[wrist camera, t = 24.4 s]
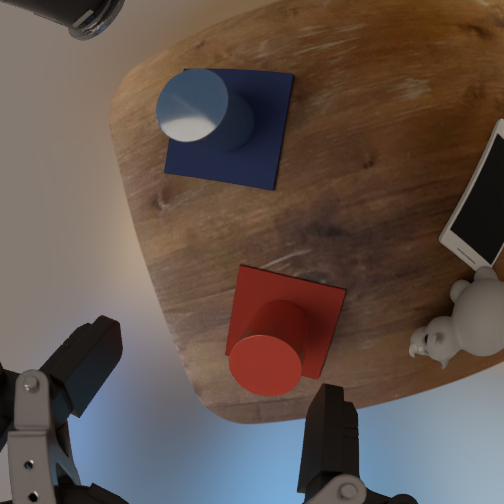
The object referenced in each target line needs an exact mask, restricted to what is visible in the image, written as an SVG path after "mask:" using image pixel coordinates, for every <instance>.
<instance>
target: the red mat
mask: <svg viewBox="0 0 504 504" xmlns="http://www.w3.org/2000/svg"><path fill="white" fill-rule="evenodd" d="M345 292H346V289H341V288H337V287H333V286H328V285H324V284H320V283H316V282H311V281H307V280H303V279H299V278H294V277H290V276H286V275H282V274H278V273H273V272H269V271H265V270H261V269H257V268H253V267H248V266H244V265H240V266H239V272H238V278H237V284H236V290H235V296H234V302H233V308H232V314H231V321H230V327H229V333H228V339H227V345H226V352H225V355H227V356H230V352H231V350H232V348H233V347H234V345H235V344H236V342H237V341H238V339H239V338H240V336H241V335H242V333H243V331H244V330H245V328H246V327H247V325H248V324H249V322H250V320H251V319H252V317H253V316H254V314H255V313H256V311H257V310H258V309H259V308H260V307H261V306H262V305H264V304H265V303H267V302H270V301H275V300H284V301H288V302H291V303H294V304H295V305H297V306H299V307H300V308H301V309H302V310H303V311H304V312H305V314H306V315H307V317H308V319H309V322H310V334H309V340H308V345H307V350H306V355H305V360H304V365H303V370H302V374H301V376H305V377H309V378H314V379H318V377H319V375H320V372H321V369H322V366H323V363H324V360H325V357H326V354H327V351H328V348H329V345H330V342H331V339H332V336H333V333H334V330H335V326H336V323H337V320H338V317H339V313H340V310H341V306H342V303H343V299H344V296H345Z"/></svg>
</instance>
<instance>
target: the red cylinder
mask: <svg viewBox="0 0 504 504" xmlns="http://www.w3.org/2000/svg"><path fill="white" fill-rule="evenodd" d="M309 334H310V322H309V319H308V317H307V315H306V314H305V312H304V311H303V310H302V309H301V308H300V307H299V306H297V305H295V304H294V303H291V302H288V301H284V300H275V301H270V302H267V303H265V304H264V305H262V306H261V307H260V308H259V309H258V310H257V311H256V313H255V314H254V316H253V317H252V319H251V320H250V322H249V324H248V325H247V327H246V328H245V330H244V331H243V333H242V335H241V336H240V338H239V339H238V341H237V342H236V344H235V345H234V347H233V348H232V350H231V352H230V356H229V367H230V371H231V373H232V375H233V377H234V378H235V380H236V381H237V382H238V383H239V384H240V385H241V386H242V387H243V388H245V389H246V390H248V391H250V392H252V393H255V394H258V395H262V396H277V395H282V394H284V393H287V392H288V391H290V390H292V389H293V388H294V387H295V386H296V385H297V383H298V382H299V380H300V378H301V374H302V370H303V365H304V360H305V355H306V350H307V345H308V340H309Z"/></svg>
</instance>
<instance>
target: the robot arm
mask: <svg viewBox="0 0 504 504" xmlns="http://www.w3.org/2000/svg"><path fill="white" fill-rule="evenodd" d="M0 2H3V3H6V4H9V5H12V6H15V7H19V8H22V9H24V10H27V11H30V12H33V13H34V14H35V15H38V16H41V17H43V18H46V19H48V20H51V21H53V22H56V23H58V24H61V25H63V26H66V27H68V28H70V29H71V28H72V29H73V30H75V31H78V32H82V31H85V30H88V29H90V28H91V27H93V26H94V25H95V24H97V23H98V22H99V21H100V20H101V19H102V18H103V17H104V15H105V14H106V13H107V11H108V10H109V8H110V7H111V5H112V2H113V0H0ZM122 351H123V346H122V338H121V329H120V323H119V322H118V321H116V320H113V319H110V318H108V317H106V316H103V315H101V316H100V317H98V318H97V319H96V321H95V322H94V323H93V324H90V323H86V324H84V325H82V326H80V327H78V328H77V329H76V330H75V331H74V332H73V333H72V334H71V335H70V336H69V338H68V339H66V340H65V341H64V343H63V345H61V346H60V347H59V348H58V349H57V350H56V351H55V352H54V353H53V355H52V356H51V357H50V358H49V359H48V360H47V361H46V362H45V364H44V365H43V366H42V367H41V368H40V369H39V370H27V371H25V372H23V373H22V374H19V373H15V372H12V371H9V370H6V369H3V367H2V365H1V363H0V452H1V450H2V449H3V447H4V446H5V444H6V442H7V441H8V462H9V475H10V484H11V493H12V500H9V501H5V502H0V504H129V503H128V502H126V501H125V500H124V499H122V498H121V497H120V496H118V495H115V494H114V493H111V492H110V491H108V490H106V489H104V488H101V487H100V486H98V485H96V484H94V483H92V485H91V486H90V487H88V486H82V485H81V483H80V479H79V475H78V472H77V469H76V467H75V464H74V461H73V456H72V451H71V444H70V437H69V430H68V421H67V418H68V417H69V415H70V414H73V415H75V416H76V417H78V418H80V416H81V415H82V414H83V412H84V411H85V409H86V408H87V406H88V404H89V403H90V402H91V401H92V399H93V397H94V396H95V395H96V393H97V392H98V390H99V389H100V388H101V386H102V385H103V383H104V382H105V380H106V379H107V378H108V376H109V375H110V373H111V372H112V371H113V369H114V368H115V366H116V365H117V364H118V362H119V361H120V358H121V356H122ZM358 435H359V433H358V414H357V411H356V409H355V407H354V405H353V403H352V402H346V401H344V390H343V387H341V386H335V385H330V384H325V383H323V384H322V385H321V387H320V389H319V391H318V392H317V394H316V396H315V398H314V399H313V401H312V403H311V405H310V407H309V409H308V412H307V416H306V422H305V431H304V440H303V450H302V458H301V465H300V473H299V480H298V487H297V492H298V493H305V499H304V502H303V503H302V504H418V503H417V501H416V500H415V499H414V498H413V497H412V496H410V495H407V494H399V495H396V496H394V497H392V498H390V497H387V496H384V495H381V494H378V493H376V492H373V491H371V490H369V489H368V488H367V487H365V485H364V483H363V482H362V481H361V479H360V476H359V438H358Z"/></svg>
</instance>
